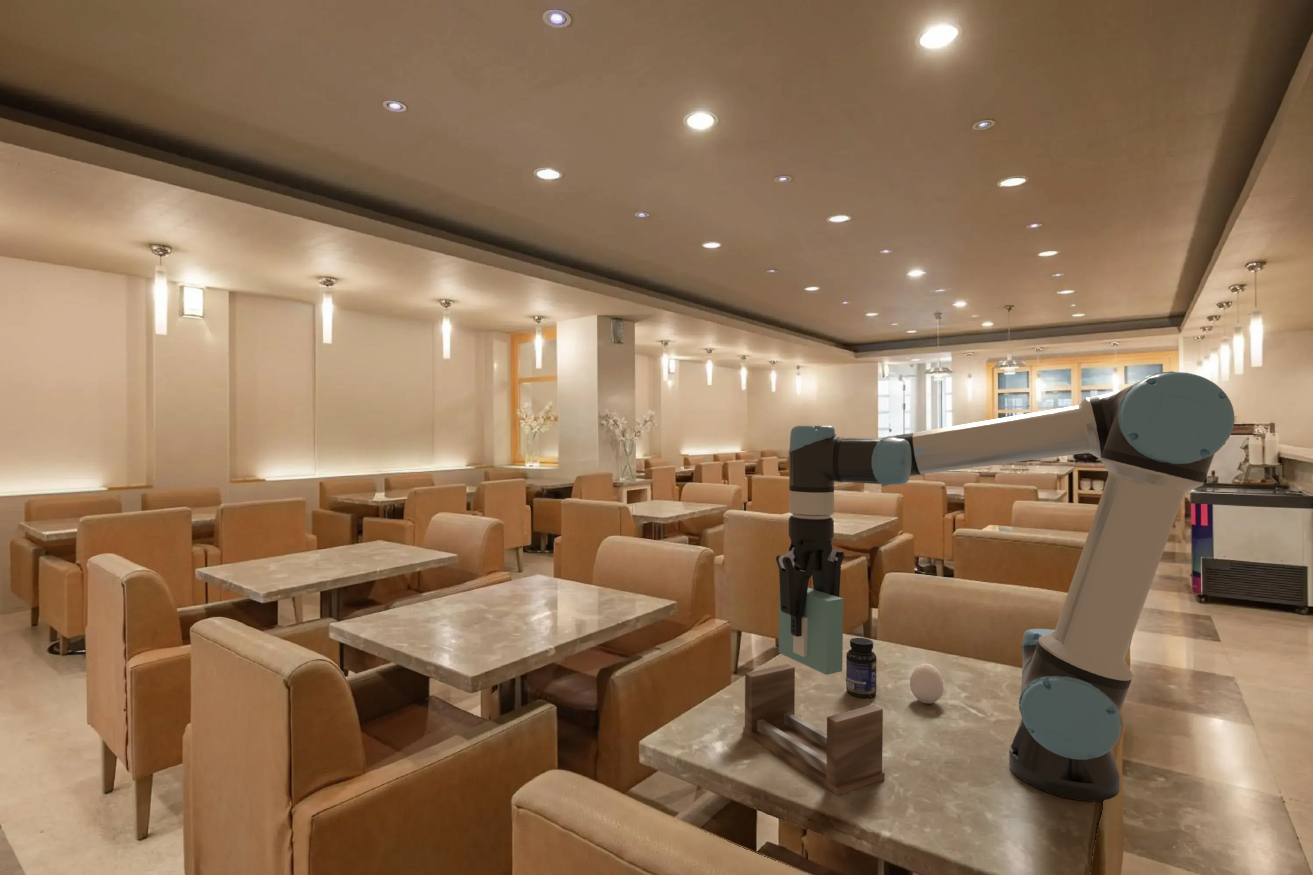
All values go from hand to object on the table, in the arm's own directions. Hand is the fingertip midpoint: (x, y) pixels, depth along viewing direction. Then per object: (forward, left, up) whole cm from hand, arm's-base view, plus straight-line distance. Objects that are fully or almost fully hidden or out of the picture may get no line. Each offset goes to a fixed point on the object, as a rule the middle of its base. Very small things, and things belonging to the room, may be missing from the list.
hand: (809, 651), depth 114 cm
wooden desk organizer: (0, 0, -17) cm, 17 cm away
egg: (+5, -36, -18) cm, 40 cm away
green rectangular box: (0, 0, -2) cm, 2 cm away
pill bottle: (+15, -28, -18) cm, 36 cm away
